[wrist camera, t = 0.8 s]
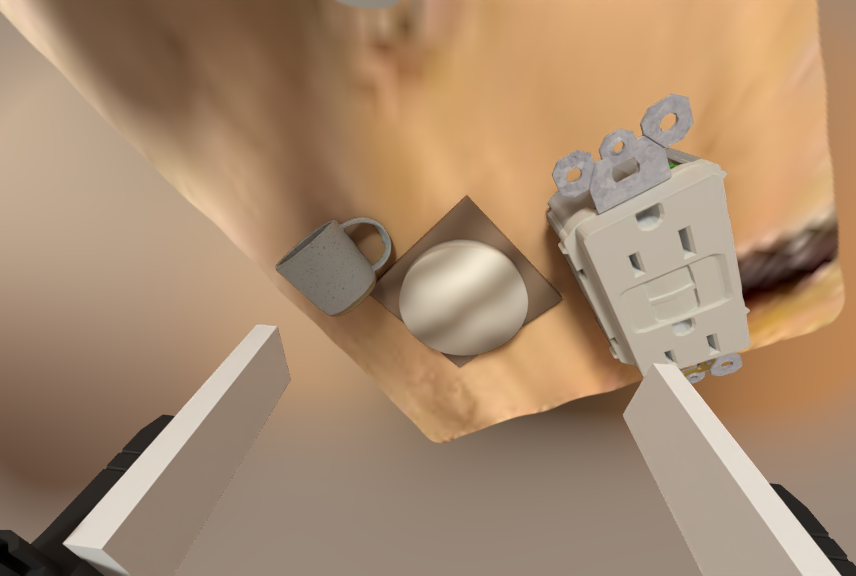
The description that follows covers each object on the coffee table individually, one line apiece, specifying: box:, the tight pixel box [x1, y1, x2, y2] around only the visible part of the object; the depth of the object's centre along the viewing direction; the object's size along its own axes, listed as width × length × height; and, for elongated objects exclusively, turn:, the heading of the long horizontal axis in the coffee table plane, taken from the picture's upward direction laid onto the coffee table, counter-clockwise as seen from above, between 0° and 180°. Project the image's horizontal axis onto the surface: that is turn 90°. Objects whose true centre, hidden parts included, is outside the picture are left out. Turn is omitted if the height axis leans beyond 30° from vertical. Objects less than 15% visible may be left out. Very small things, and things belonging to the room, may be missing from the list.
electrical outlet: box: [547, 94, 751, 384], centre depth 30 cm, size 12×28×10 cm, turn 33°
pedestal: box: [369, 195, 563, 367], centre depth 37 cm, size 16×16×4 cm
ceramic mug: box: [276, 217, 391, 316], centre depth 34 cm, size 11×8×8 cm
